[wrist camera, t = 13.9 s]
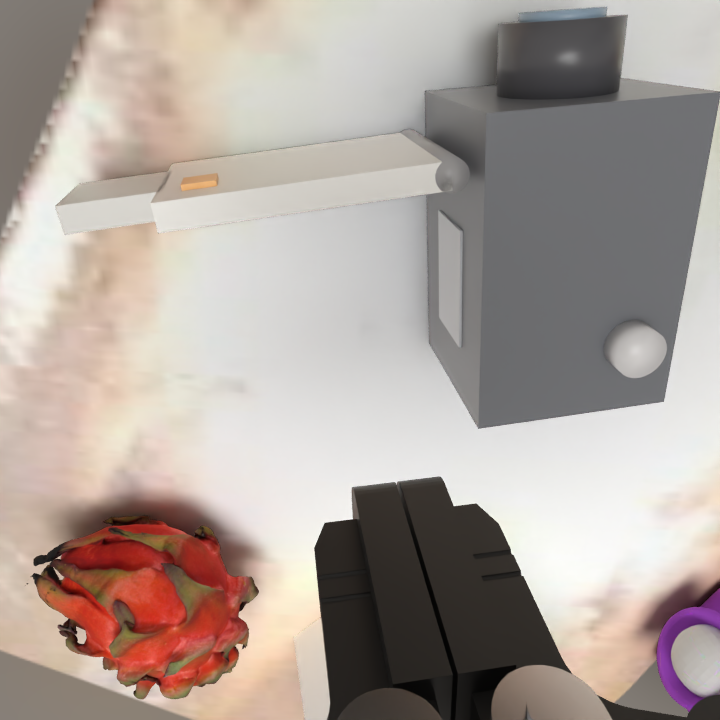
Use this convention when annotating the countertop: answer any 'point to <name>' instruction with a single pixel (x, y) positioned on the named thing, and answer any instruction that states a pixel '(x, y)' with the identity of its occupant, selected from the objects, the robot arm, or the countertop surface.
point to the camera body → (563, 223)
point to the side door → (267, 184)
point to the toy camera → (691, 653)
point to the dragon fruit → (149, 603)
